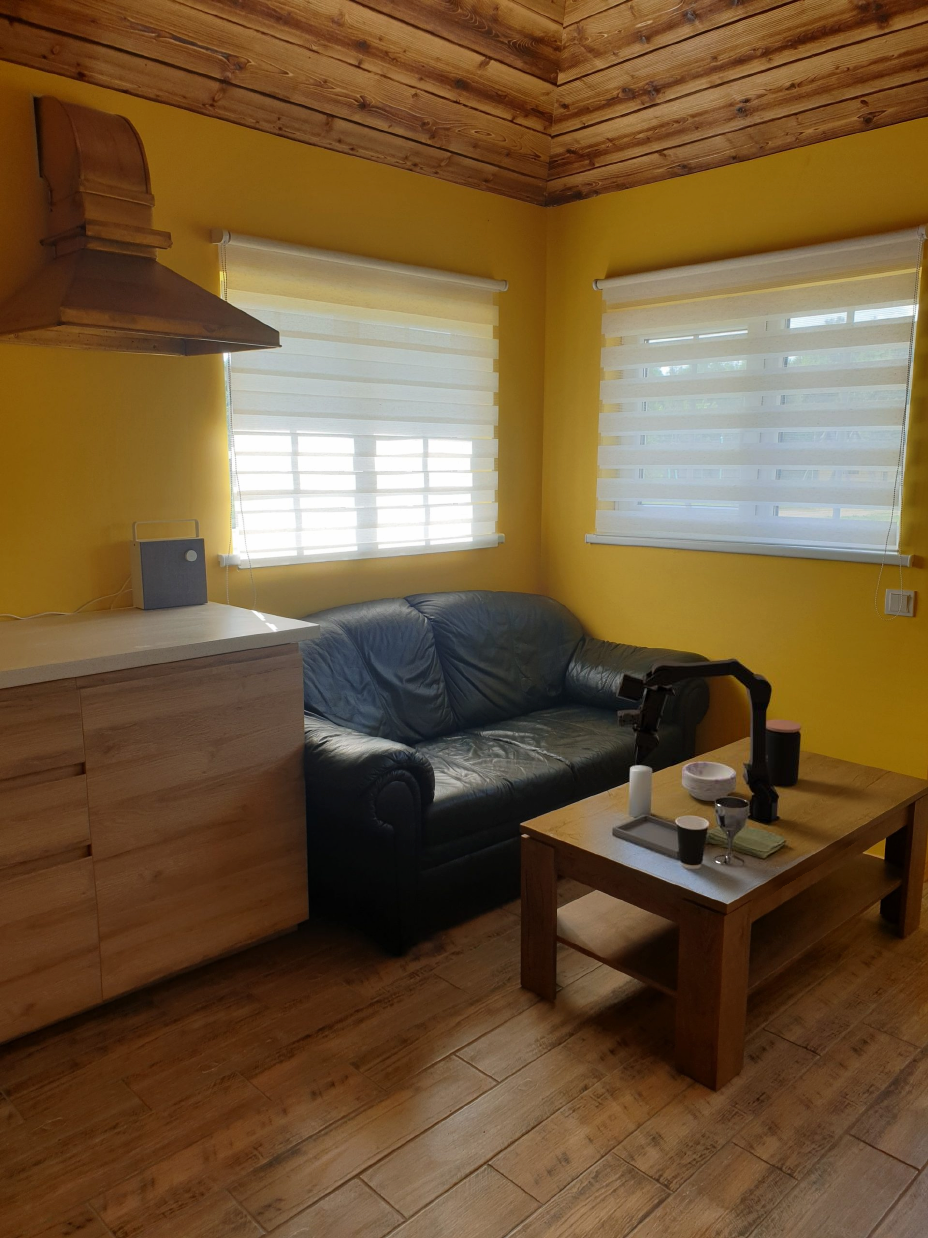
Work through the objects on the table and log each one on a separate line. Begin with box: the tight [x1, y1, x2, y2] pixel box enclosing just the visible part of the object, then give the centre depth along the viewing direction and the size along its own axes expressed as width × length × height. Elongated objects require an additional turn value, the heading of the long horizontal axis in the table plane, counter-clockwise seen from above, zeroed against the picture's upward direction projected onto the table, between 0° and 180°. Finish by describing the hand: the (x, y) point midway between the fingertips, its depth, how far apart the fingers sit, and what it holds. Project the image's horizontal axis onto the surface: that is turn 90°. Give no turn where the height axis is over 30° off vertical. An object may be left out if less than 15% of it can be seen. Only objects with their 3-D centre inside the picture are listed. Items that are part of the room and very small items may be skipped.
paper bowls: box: [681, 761, 737, 802], centre depth 268 cm, size 15×15×8 cm
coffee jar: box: [766, 719, 802, 788], centre depth 279 cm, size 11×11×18 cm
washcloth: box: [707, 824, 787, 860], centre depth 236 cm, size 13×18×3 cm
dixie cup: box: [675, 815, 710, 870], centre depth 223 cm, size 8×8×11 cm
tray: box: [611, 814, 710, 860], centre depth 238 cm, size 20×14×2 cm
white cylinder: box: [628, 764, 653, 818], centre depth 254 cm, size 6×6×13 cm
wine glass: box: [713, 795, 750, 868], centre depth 225 cm, size 8×8×15 cm
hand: (636, 759), depth 253 cm, fingers open, 9 cm apart
